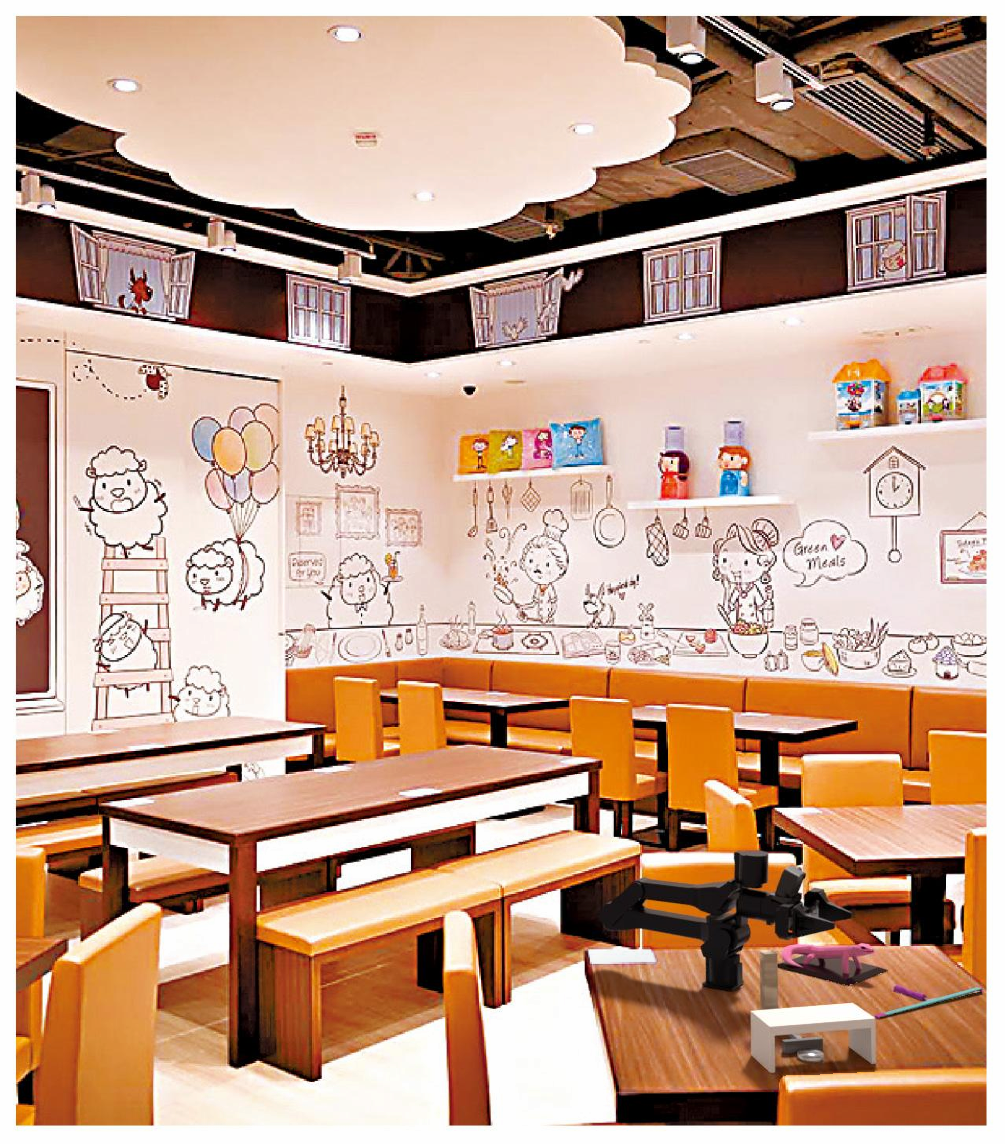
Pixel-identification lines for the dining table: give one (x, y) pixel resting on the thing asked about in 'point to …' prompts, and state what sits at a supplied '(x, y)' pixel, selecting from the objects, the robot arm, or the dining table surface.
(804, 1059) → the steel token
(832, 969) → the lizard figurine
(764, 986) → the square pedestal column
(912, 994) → the squeegee
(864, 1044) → the white footstool bench
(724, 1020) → the dining table surface
